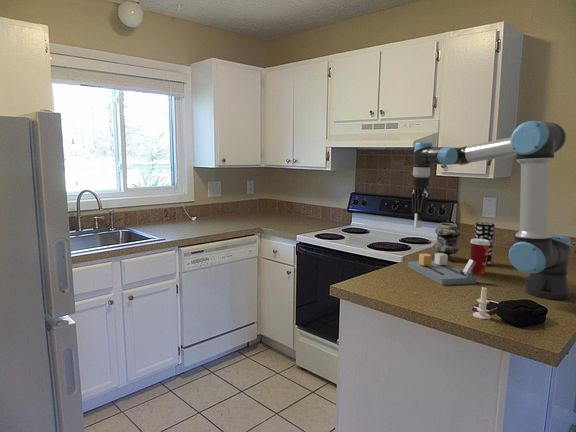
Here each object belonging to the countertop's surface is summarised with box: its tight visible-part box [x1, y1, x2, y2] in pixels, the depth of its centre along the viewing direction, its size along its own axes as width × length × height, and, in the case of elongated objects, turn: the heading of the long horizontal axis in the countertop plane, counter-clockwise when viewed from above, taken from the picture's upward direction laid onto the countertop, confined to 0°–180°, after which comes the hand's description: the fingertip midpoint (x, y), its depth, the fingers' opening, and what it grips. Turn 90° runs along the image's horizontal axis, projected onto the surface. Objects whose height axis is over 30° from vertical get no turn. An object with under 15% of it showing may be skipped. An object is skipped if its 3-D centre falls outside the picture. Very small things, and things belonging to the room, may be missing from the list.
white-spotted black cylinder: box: [473, 221, 496, 267], centre depth 202 cm, size 8×8×20 cm
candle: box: [472, 286, 491, 320], centre depth 136 cm, size 5×5×10 cm
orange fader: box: [418, 253, 433, 266], centre depth 188 cm, size 4×4×4 cm
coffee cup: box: [469, 238, 490, 275], centre depth 187 cm, size 8×8×15 cm
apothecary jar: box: [433, 222, 461, 262], centre depth 211 cm, size 12×12×18 cm
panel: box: [407, 259, 478, 286], centre depth 183 cm, size 28×16×4 cm, turn 13°
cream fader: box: [434, 252, 448, 265], centre depth 190 cm, size 4×4×4 cm
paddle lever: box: [462, 258, 476, 275], centre depth 174 cm, size 3×2×7 cm, turn 13°
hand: (417, 227), depth 194 cm, fingers closed
